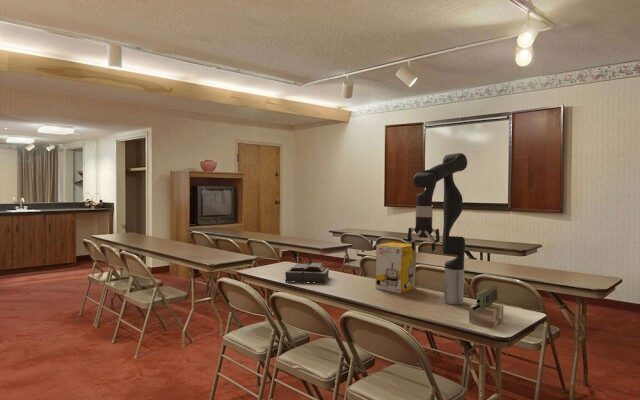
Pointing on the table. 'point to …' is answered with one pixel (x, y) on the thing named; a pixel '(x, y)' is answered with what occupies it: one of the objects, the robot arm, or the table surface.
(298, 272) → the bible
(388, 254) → the packaging box
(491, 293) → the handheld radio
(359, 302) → the table surface
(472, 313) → the birch block
